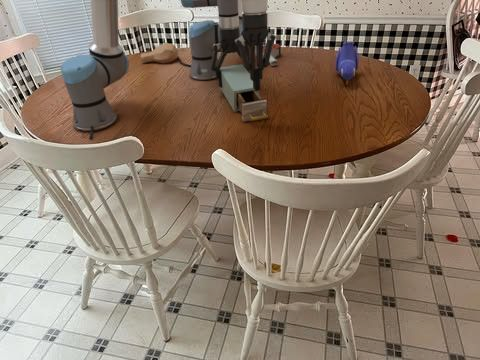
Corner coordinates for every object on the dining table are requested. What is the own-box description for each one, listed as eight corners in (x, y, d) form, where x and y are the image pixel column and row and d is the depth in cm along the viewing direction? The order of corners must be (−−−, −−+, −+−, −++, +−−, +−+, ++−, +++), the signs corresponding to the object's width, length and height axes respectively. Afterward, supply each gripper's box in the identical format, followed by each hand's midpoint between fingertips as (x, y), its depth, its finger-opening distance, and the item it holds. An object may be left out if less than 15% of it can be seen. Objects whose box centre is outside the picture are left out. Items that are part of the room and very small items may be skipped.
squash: (179, 63, 185) (174, 47, 178) (142, 70, 187) (136, 55, 180) (180, 53, 192) (175, 37, 186) (145, 60, 194) (139, 45, 188)
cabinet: (259, 107, 137) (259, 86, 131) (234, 112, 134) (233, 91, 129) (242, 83, 152) (242, 64, 146) (219, 87, 150) (218, 67, 144)
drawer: (271, 124, 125) (272, 108, 121) (247, 129, 124) (247, 112, 119) (248, 92, 144) (248, 77, 139) (227, 96, 142) (227, 80, 137)
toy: (333, 78, 167) (335, 88, 145) (335, 40, 160) (337, 44, 138) (355, 78, 165) (360, 87, 142) (358, 39, 158) (364, 43, 136)
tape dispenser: (274, 70, 173) (292, 55, 185) (274, 59, 169) (292, 45, 182) (243, 64, 180) (262, 50, 193) (243, 53, 177) (262, 40, 189)
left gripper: (270, 7, 109) (270, 82, 123) (229, 12, 106) (234, 88, 120) (280, 12, 103) (279, 90, 117) (237, 17, 100) (241, 96, 114)
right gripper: (254, 22, 140) (256, 77, 153) (198, 29, 135) (204, 85, 148) (260, 25, 134) (262, 83, 147) (202, 33, 129) (208, 91, 142)
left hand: (256, 89), depth 118 cm, fingers closed
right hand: (233, 84), depth 147 cm, fingers closed on cabinet, 10 cm apart
